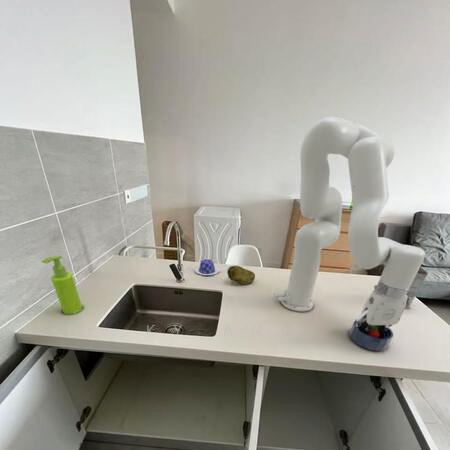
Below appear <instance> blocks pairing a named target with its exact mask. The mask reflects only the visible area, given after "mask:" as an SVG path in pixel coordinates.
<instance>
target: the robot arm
mask: <svg viewBox="0 0 450 450" xmlns="http://www.w3.org/2000/svg"><path fill="white" fill-rule="evenodd" d="M300 147H301V148H300V156H299V157H300V196H299V198H300V199H299V209H300V213H301V215H302V217H304V218H305V219H310V220H312V219H315V220H314V222H310V223H307V224H304V225H303V226H301V227H300V228H299V229H298V230H297V232H296V234H295V237H294V252H293V259H292V264H291V269H290V273H289V278H288V279H289V280H288V283H287V287H286V289H284V291H283V292H281V293H280V292H276V293H273V298H274V299H278V301H280V303H281V304H282V305H283V307H285V308H287V309H289V310H290V311H291V310H292V311H293V312H309V311H311V310H312V309H313V307H314V301H313V300H312V296H313V292H314V288H315V285H316V281H317V277H318V273H319V269H320V266H321V262H322V261H321V260H322V258H321V255H322V254H321V252H322V250H323V249H325V248H328V247H330V246H332V245H334V244H336V242H337V241H338V239H339V237H340V234H341V227H342V226H341V225H342V216H343V215H342V214H343V197H342V194H341V192H340V191H339V189H337V188H335V187H334V186H330V170H331V169H330V164H329V160H328V156H329V155H330V154H331V155H341V156H343V157H344V158H346V159H347V164H348V165H347V166H348V172H349V173H348V175H349V183H350V191H351V196H352V197H351V198H352V199H351V200H352V209H351V212H350V216H349V221H348V229H347V240H348V249H349V255H350V258H351V261H352V263H353V264H354V265H355V266H356V267H357V268H358V269H361V270H372V269H374V268H377V267H378V266H381V265H384V267H383V270H382V272H381V275H380V277H379V280H378V282H377V284H375V285H374V286H373V290H372V292H370V295H369V296H368V298H367V300H366V301H365V304H364V305H363V307H362V310H361V313H360V314H359V315H358V316H357V317H356V318H355V319H354V321H355V320H356V321H357V322H358V323H359V324H360V325H361V326H362V328H361V330H360V331H362V332H363V333H365V334H366V335H369V333H370V331H369V330H370V328H371V327H372V325H377V327H378V331H379V337H378V338H379V339H382V337H383V335H384V333H385V331H387V330H388V328H391V327H392V326H395V325H397V324H398V323H399V322H400V321H401V319H402V316H403V314H404V311H405V309H406V308H405V306H406V302H407V295H406V294H407V292H408V290H409V288H410V286H411V284H412V282H413V280H414V278H415V276H416V274H417V272H418V270H419V268H420V267H422V264H423V263H424V260H425V258H426V252H425V250H424V249H422V248H421V247H418V246H415V245H409V244H402V243H400V242H398V241H395V240H393V239H390V238H388V237H383V236H379V221H380V217H381V213H382V211H383V210H384V209H385V206H386V204H387V202H388V200H389V197H390V196H389V195H390V193H389V184H388V174H387V168H388V167H389V166H390V165H391V163H392V162H393V159H394V157H395V147H394V145H393V142H392V141H390V140H389V139H387V138H385V137H384V136H382V135H380V134H378V133H376V132H374V131H373V130H371V129H369V128H368V127H366V126H364V125H362V124H360V123H359V122H356V121H353V120H349V119H347V118H342V117H338V116H327V117H323V118H321V119H320V120H318V121H316V122H315V123H314V124H313V125H312V126H311V127H310V128H309V130H307V132H306V134H305V135H304V138H303V140H302V142H301V146H300ZM367 323H368V325H366V324H367Z"/></svg>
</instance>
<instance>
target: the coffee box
mask: <svg viewBox="0 0 450 450" xmlns="http://www.w3.org/2000/svg"><path fill="white" fill-rule="evenodd" d="M428 274H429V272H427V271H426V270H425V269H424V268H423V267H422V266H420V268H419V270H418V272H417V274H416V276H415V278H414V280H413V282H412V284H411V286H410V288H409V290H408V292H407V294H406V295H407V302H406V306H405V309H409V308H410V306H411V305H412V303H413V301H414V299H415V297H416V296H417V294H418V292H419V290H420V289H421V287H422V285H423V283H424V282H425V280H426V277H427V275H428Z"/></svg>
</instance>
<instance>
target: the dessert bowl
mask: <svg viewBox="0 0 450 450" xmlns="http://www.w3.org/2000/svg"><path fill="white" fill-rule="evenodd" d="M366 325H368V323H367V324H366ZM374 326H377V325H374ZM361 328H362V326H361V325H360V324H359V323H358V322H357V321H356V320H355V319H354V321H353V323H352V325H351V328H350V330H349V337H350V338H351V340H352V341H353V342H354V343H355V344H357V345H358V346H360V347H362V348H363V349H367V350H370V351H375V352H377V351H378V352H379V351H384V350H386V349H387V348H388V347H389V345H390V343H391V341H392V339H393V337H394V333H393V330H392V329H391V327H389V328H388V330H387V331H385V333H384V335H383V337H382V339H379V338H374V337H371V336H369V335H366V334H365V333H363V332H362V331H360V330H361Z"/></svg>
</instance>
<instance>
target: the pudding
mask: <svg viewBox="0 0 450 450" xmlns="http://www.w3.org/2000/svg"><path fill="white" fill-rule="evenodd" d="M194 272H195V273H196V274H199V275H202V276H212V275H213V276H214V275H216V274H218V273H219V272H220V269H219V267H217V266H215V264H214V261H213V260H212V259H208V258H207V259H202V260H201V261H200V264H199V265H197V266H195V268H194Z"/></svg>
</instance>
